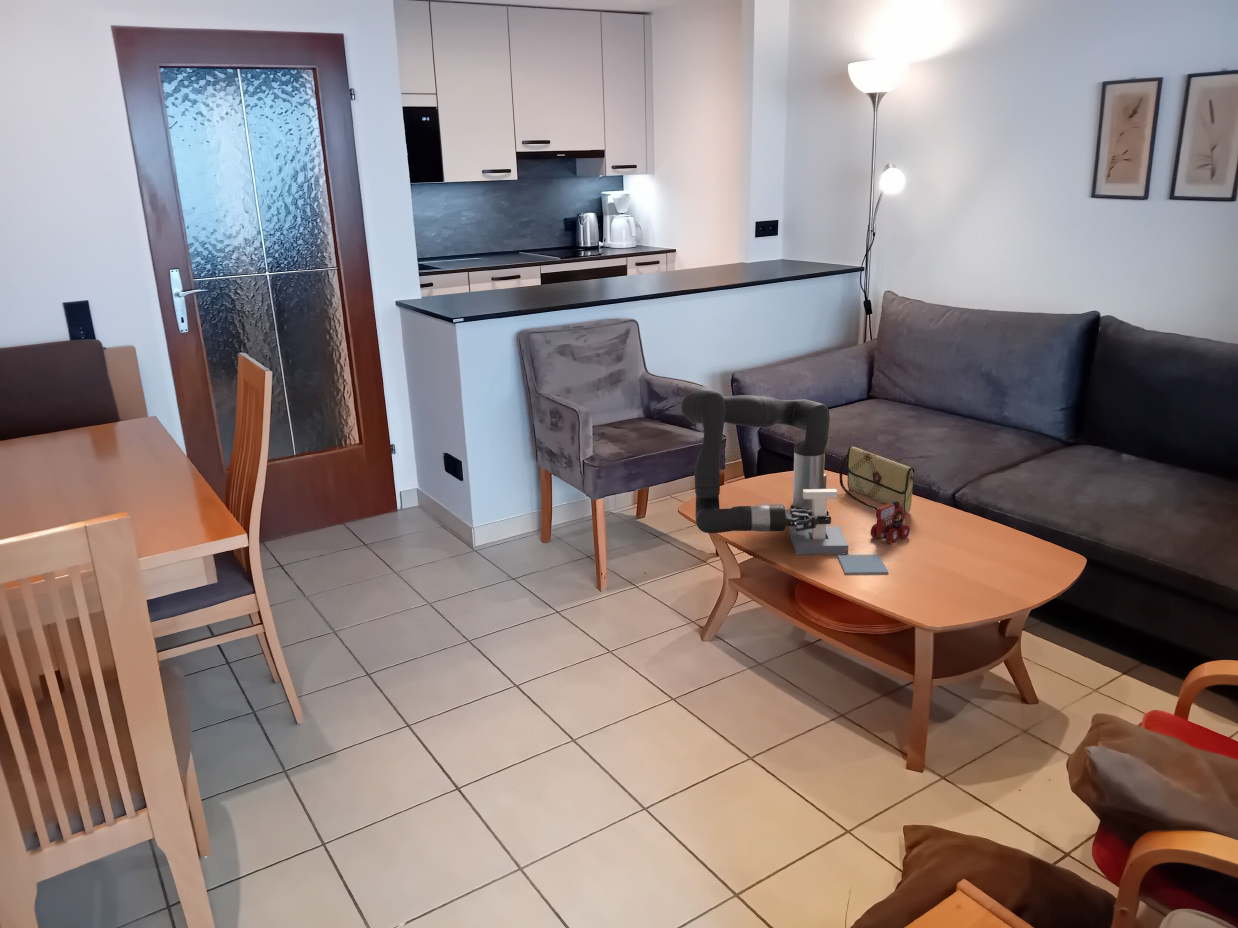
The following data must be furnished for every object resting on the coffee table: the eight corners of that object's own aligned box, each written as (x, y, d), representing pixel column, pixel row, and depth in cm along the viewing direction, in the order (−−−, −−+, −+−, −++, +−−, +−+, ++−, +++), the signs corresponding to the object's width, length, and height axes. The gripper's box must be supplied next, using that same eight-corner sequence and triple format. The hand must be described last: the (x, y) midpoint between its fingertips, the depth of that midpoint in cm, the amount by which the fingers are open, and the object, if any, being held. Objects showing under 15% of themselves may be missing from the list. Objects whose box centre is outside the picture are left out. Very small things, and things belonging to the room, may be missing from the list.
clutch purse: (833, 491, 287) (835, 447, 282) (849, 487, 290) (852, 443, 285) (899, 520, 261) (902, 472, 257) (916, 515, 264) (920, 468, 260)
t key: (802, 546, 246) (804, 493, 241) (801, 541, 249) (802, 488, 244) (835, 546, 245) (837, 492, 240) (833, 541, 249) (835, 488, 244)
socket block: (796, 554, 241) (796, 546, 240) (789, 534, 254) (790, 526, 254) (848, 553, 240) (848, 545, 239) (838, 533, 253) (839, 525, 253)
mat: (845, 574, 228) (845, 572, 228) (837, 556, 239) (837, 554, 239) (888, 573, 228) (888, 571, 227) (878, 556, 238) (878, 554, 238)
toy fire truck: (913, 535, 251) (916, 501, 247) (886, 547, 244) (889, 512, 240) (892, 528, 256) (895, 494, 253) (866, 539, 249) (868, 505, 245)
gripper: (770, 515, 238) (834, 514, 237) (764, 496, 251) (825, 495, 250) (769, 540, 240) (833, 539, 239) (764, 520, 254) (824, 520, 252)
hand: (829, 517), depth 245 cm, fingers closed on t key, 3 cm apart
